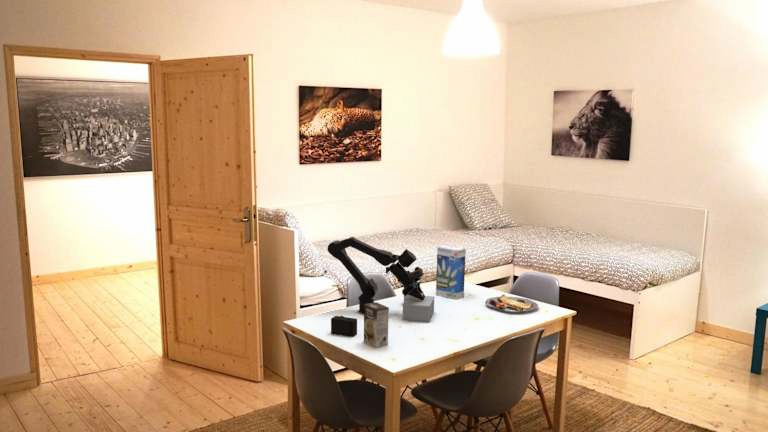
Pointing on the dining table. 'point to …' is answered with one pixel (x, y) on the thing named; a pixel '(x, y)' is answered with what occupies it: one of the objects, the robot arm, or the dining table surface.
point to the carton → (418, 313)
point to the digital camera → (344, 326)
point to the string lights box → (450, 271)
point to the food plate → (511, 304)
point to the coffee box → (376, 324)
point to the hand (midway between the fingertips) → (424, 298)
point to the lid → (418, 301)
